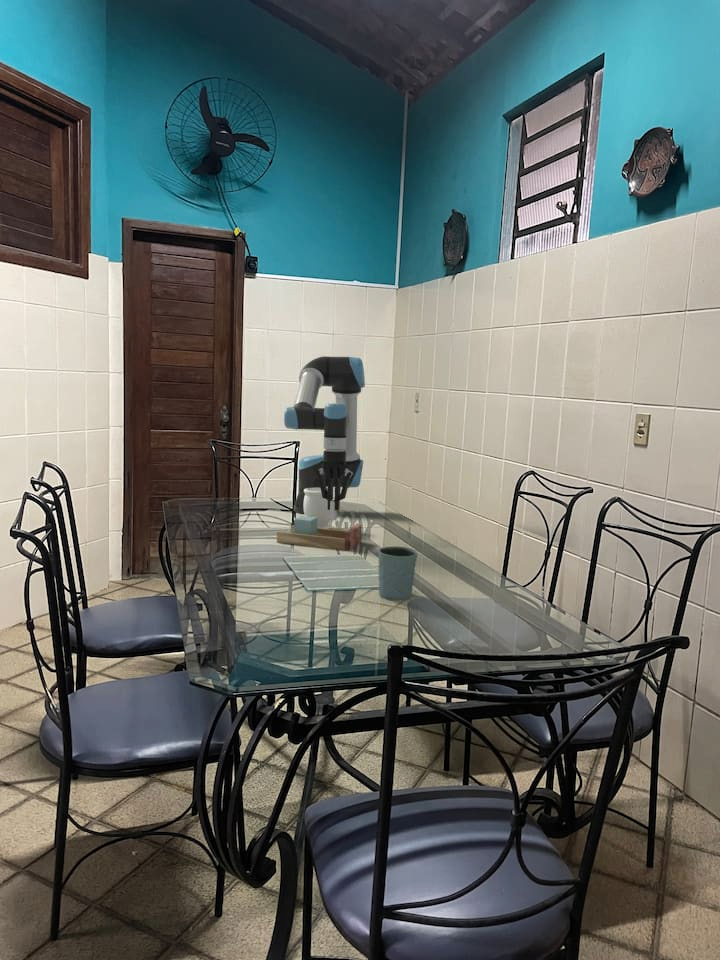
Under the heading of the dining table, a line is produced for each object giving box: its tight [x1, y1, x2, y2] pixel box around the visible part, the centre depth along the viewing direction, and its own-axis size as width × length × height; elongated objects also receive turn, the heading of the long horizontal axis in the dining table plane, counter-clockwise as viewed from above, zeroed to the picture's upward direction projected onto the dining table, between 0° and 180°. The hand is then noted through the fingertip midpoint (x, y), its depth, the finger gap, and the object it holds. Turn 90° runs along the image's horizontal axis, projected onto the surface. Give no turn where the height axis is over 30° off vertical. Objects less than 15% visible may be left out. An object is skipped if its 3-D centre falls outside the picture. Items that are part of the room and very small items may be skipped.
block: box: [293, 515, 318, 536], centre depth 237 cm, size 6×6×8 cm
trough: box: [276, 524, 362, 551], centre depth 236 cm, size 12×26×6 cm, turn 71°
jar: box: [303, 488, 331, 529], centre depth 255 cm, size 11×10×15 cm
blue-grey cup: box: [378, 546, 418, 601], centre depth 181 cm, size 10×10×12 cm
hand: (333, 519), depth 233 cm, fingers closed
